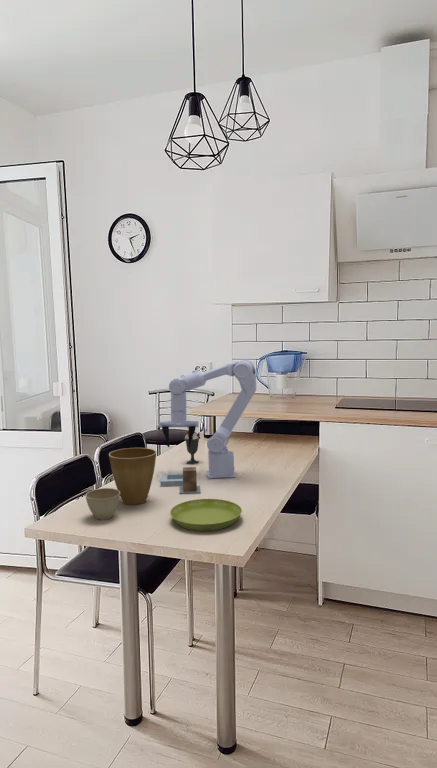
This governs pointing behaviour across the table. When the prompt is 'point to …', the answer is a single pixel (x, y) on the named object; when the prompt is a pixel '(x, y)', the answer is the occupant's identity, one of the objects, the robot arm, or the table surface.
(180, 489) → the plate
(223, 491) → the table surface
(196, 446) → the sundae
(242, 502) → the table surface
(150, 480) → the plant pot
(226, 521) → the saucer
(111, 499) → the flower pot
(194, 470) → the walnut block
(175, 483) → the pocket holder
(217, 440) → the robot arm
